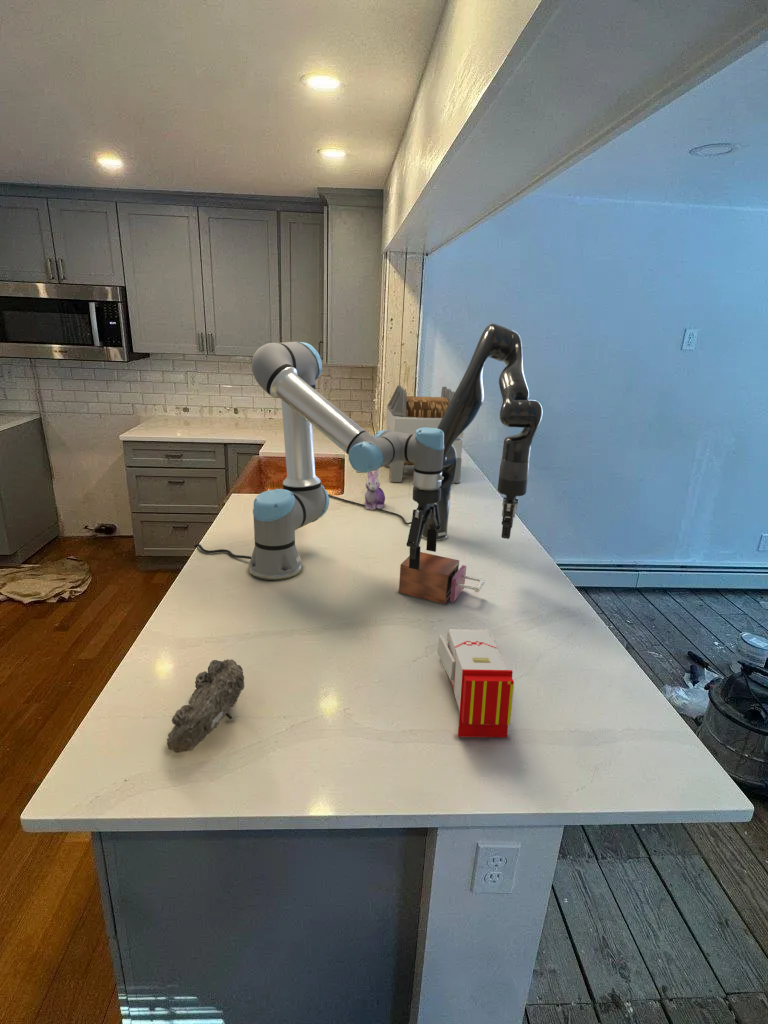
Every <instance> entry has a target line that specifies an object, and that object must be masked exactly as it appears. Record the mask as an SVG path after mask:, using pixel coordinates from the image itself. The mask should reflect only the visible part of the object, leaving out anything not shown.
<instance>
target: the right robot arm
mask: <svg viewBox="0 0 768 1024" xmlns="http://www.w3.org/2000/svg"><path fill="white" fill-rule="evenodd" d="M522 344H523V343H522V338H521V336H520V334H519V333H518V332H517V331H515V330H513V329H510V328H508V327H505V326H502V325H499V324H498V323H497V324H496V323H490V324H488V325H487V326H486V327H485V328H484V330H483V331H482V333H481V335H480V337H479V340H478V342H477V344H476V347H475V349H474V351H473V354H472V356H471V359H470V361H469V364H468V366H467V368H466V370H465V372H464V374H463V377H461V380H460V382H459V384H458V385H457V388H456V390H455V391H454V392H455V393H454V395H453V397H452V399H451V401H450V403H449V406H448V408H447V410H446V412H445V414H444V416H443V418H442V419H441V421H440V424H439V426H438V428H437V429H440V430H442V431H443V433H444V454H443V465H442V476H443V480H441V486H440V488H441V498H440V501H439V502H438V507H439V515H440V525H438V526H441V528H440V530H438V529H436V530H437V542H440V541H444V540H446V539H447V538H448V525H449V517H450V516H449V514H450V504H451V494H452V493H451V491H452V486H453V484H454V483H453V481H454V477H455V470H456V461H457V455H456V451H455V448H454V447H453V446H452V444H453V442H454V441H455V439H456V438H457V437H458V436H459V435H460V434H461V433H462V432H463V431H465V430H466V429H467V428H468V427H469V426H470V425H471V424H472V423H473V421H474V420H475V419H476V416H477V415H478V413H479V411H480V409H481V408H482V406H483V403H484V400H485V390H484V382H483V371H484V367H485V364H486V361H487V360H488V358H490V359H493V360H495V361H498V362H503V363H504V364H505V366H504V368H503V369H502V370H501V372H500V374H499V377H498V386H499V387H498V388H499V391H500V394H501V395H500V396H501V406H500V410H499V420H500V422H501V424H502V425H503V426H504V427H507V428H520V429H521V428H522V430H521V431H520V432H519V433H517V434H511V435H508V436H506V437H505V438H504V439H503V445H502V452H501V453H502V455H501V461H500V465H499V473H498V481H497V492H498V493H499V494H501V495H504V496H503V500H502V505H501V506H502V509H501V517H502V519H501V520H502V521H501V525H502V528H501V538H502V539H507V540H510V538H511V532H512V529H513V524H514V519H515V518H516V511H517V509H518V505H519V498H517V497H523V496H525V495H526V493H527V489H528V482H529V481H528V480H529V473H530V457H531V449H532V445H533V441H534V438H535V436H536V433H537V430H538V428H539V426H540V424H541V422H542V419H543V412H544V411H543V407H542V405H541V403H540V401H538V400H536V399H529V397H530V391H529V387H528V384H527V381H526V376H525V373H524V364H523V363H524V362H523V345H522ZM463 433H464V432H463ZM328 496H329V498H333V499H336V500H339V501H342V502H346V503H349V504H354V505H358V506H361V507H366V505H364V504H365V503H359V502H356V501H351V500H348V499H344V498H341V497H338V496H335V495H332V494H329V493H328ZM375 510H376V511H379V512H384V513H387V514H390V515H393V516H396V517H399V518H401V520H402V521H403V522H402V523H404V525H406V526H408V525H411V522H412V521H409V522H407V521H406V520H405V518H404V517H403V515H401V514H399V513H396V512H394V511H393V512H392V511H389V510H386V509H382V508H380V509H379V508H375ZM428 529H430V528H429V526H428V523H427V525H425V527H424V531H423V534H422V538H421V539H424V540H427V530H428Z"/></svg>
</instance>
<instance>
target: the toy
mask: <svg viewBox="0 0 768 1024" xmlns="http://www.w3.org/2000/svg"><path fill="white" fill-rule="evenodd" d="M446 640H447V643H446V641H445V639H444V636H443V635H442V634H439V637H438V646H437V656H438V657H439V659H440V661H441V663H442V666H443V668H444V670H445V672H446V674H447V677H448V679H449V681H450V684H451V687H452V690H453V693H454V697H455V701H456V705H457V708H458V711H459V714H458V715H459V716H458V730H457V731H458V732H457V737H458V738H508V731H509V726H510V725H511V717H512V707H513V697H514V696H513V695H514V684H515V680H514V679H513V673H514V671H513V670H512V669H508V667H507V665H506V662H505V661H504V659H503V658H502V655H501V653H500V651H499V649H498V647H497V643H496V639H495V637H494V635H493V634H491V632H490V631H489V629H467V628H466V629H465V628H463V629H461V628H460V629H459V628H448V630H447V639H446Z"/></svg>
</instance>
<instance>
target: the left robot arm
mask: <svg viewBox="0 0 768 1024" xmlns="http://www.w3.org/2000/svg"><path fill="white" fill-rule="evenodd" d="M322 371H323V363H322V359H321V355H320V353H319V352H318V351H317V349H316V348H315V347H314V346H313V345H311V344H310V343H308V342H304V341H296V340H294V341H285V342H284V341H283V342H267V343H265V344H263V345H261V346H260V347H258V349H257V350H256V351H255V352H254V353H253V356H252V359H251V372H252V375H253V377H254V380H255V381H256V383H257V384H258V385H259V386H260V388H261V389H262V390H263V391H265V393H267V394H268V395H269V396H271V397H272V398H273V399H280V400H281V412H282V426H283V439H284V453H285V466H286V477H285V479H284V480H282V488H274V489H268V490H264V491H262V492H260V493H259V494H258V495H257V496H256V497H255V498H254V500H253V507H252V515H253V533H254V548H253V551H252V554H251V556H250V555H242V554H234V553H232V551H231V550H229V549H225V548H220V549H212V550H211V549H210V550H209V549H208V550H207V549H205V548H204V547H203V546H202V544H200V543H196V544H195V545H194V546H193V547H194V548H199V550H201V552H203V553H206V554H215V553H226V554H229V556H231V557H232V558H235V559H245V560H249V564H248V569H249V570H248V571H249V573H250V575H252V576H253V577H255V578H257V579H259V580H265V581H282V580H288V579H290V578H293V577H295V576H297V575H298V574H300V573H301V571H302V559H301V556H300V554H299V551H298V549H297V546H296V531H297V530H298V529H301V528H302V527H304V526H307V525H309V524H310V523H314V522H316V521H318V520H319V519H321V518H322V517H323V516H324V515H325V514H326V513H327V511H328V509H329V506H330V496H328V494H329V493H328V490H326V489H325V488H326V487H325V486H324V485H323V484H322V479H321V478H319V477H318V476H317V475H316V462H315V461H316V459H315V444H314V428H315V429H317V430H318V431H319V432H320V433H322V435H324V436H325V437H326V438H327V439H328V440H330V441H331V442H333V444H335V445H336V446H337V447H338V448H340V449H341V450H342V451H343V452H345V453H346V454H347V455H348V462H349V464H350V466H351V468H353V470H354V471H356V472H358V473H362V474H368V472H371V473H372V472H375V471H376V470H377V469H378V470H379V469H381V468H382V467H385V466H384V465H387V464H390V463H392V462H394V461H404V462H410V463H414V466H413V477H412V485H413V487H412V500H413V501H414V502H415V503H417V504H418V505H417V508H416V509H413V510H412V517H411V521H410V522H411V524H410V527H409V531H408V536H407V541H406V543H405V544H406V547H408V548H409V556H410V557H409V556H408V557H409V568H412V569H417V570H419V566H420V552H421V546H420V545H421V541H422V539H423V538H422V534H423V531H424V527H425V525H427V523H428V526H429V528H430V529H428V530H427V539H426V548H425V550H426V551H429V552H434V553H436V552H437V543H438V541H437V530H436V529H438V530H440V528H441V526H438V525H440V515H439V507H438V502H439V501H440V498H441V488H440V486H441V480H443V476H442V465H443V454H444V433H443V431H442V430H440V429H437V428H428V427H424V428H419V429H417V430H416V434H407V433H401V432H394V431H391V430H388V431H386V430H383V429H381V430H378V431H376V433H375V434H374V435H372V434H370V433H369V432H367V430H365V429H364V428H363V427H361V426H360V425H359V424H358V423H356V421H354V420H353V419H352V418H350V417H349V416H348V415H347V414H346V413H344V412H343V411H342V410H340V409H339V408H338V407H337V406H336V405H334V404H333V403H332V402H331V401H330V400H328V399H327V398H326V397H325V396H323V395H322V394H321V393H320V392H319V391H317V390H316V381H317V380H318V379H319V377H320V376H321V374H322ZM313 427H314V428H313Z"/></svg>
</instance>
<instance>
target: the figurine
mask: <svg viewBox="0 0 768 1024" xmlns="http://www.w3.org/2000/svg"><path fill="white" fill-rule="evenodd" d="M379 471H380V470H379V469H377V470H375V471H373V473H372V471H371V472H367V481H366V482H365V488H366V492H365V494H364V503H363V504H364V505H366V507H365V506H364V507H365V509H366V510H372V511H373V510H376V509H375V508H379V509H382V508H384V507H385V502H386V495H385V493H384V490H383V489H382V488H381V487H380V486H381V483H380V481H379V474H380V473H379Z"/></svg>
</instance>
